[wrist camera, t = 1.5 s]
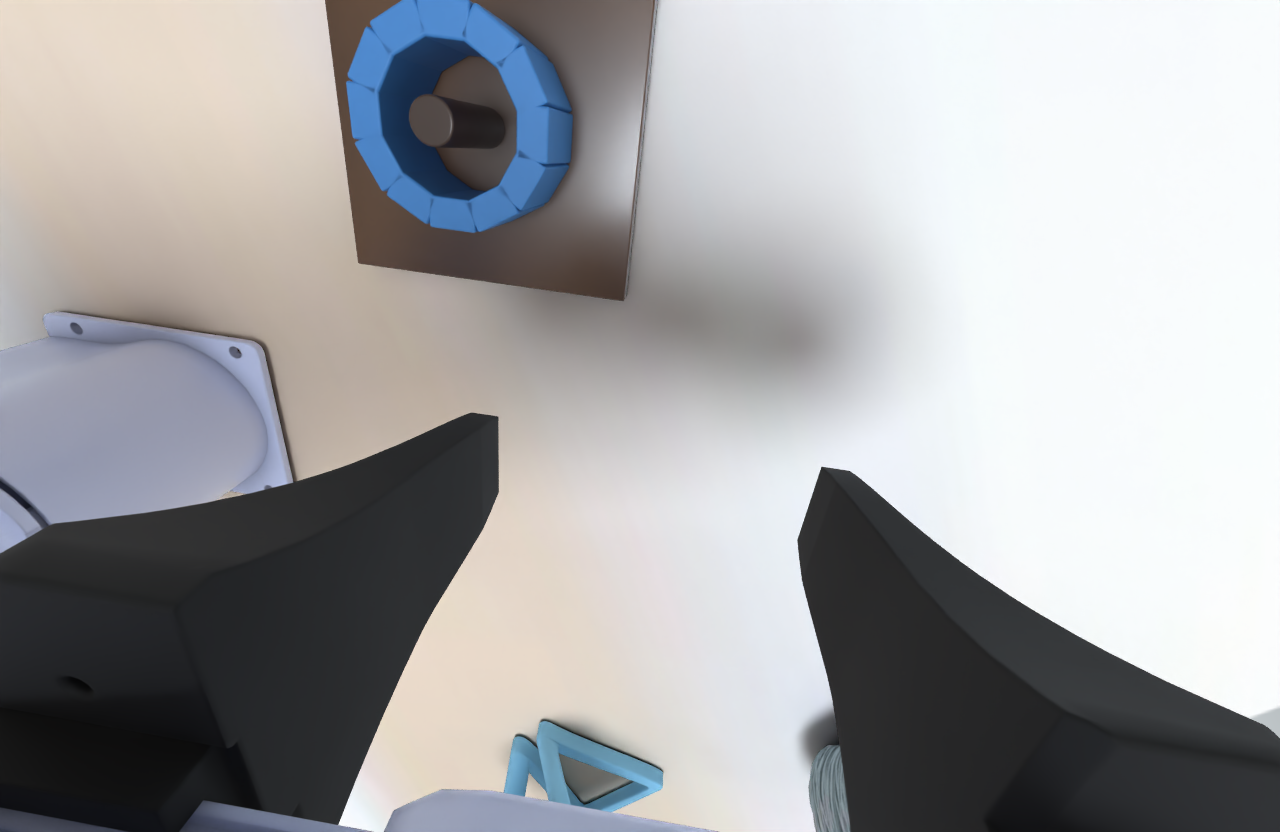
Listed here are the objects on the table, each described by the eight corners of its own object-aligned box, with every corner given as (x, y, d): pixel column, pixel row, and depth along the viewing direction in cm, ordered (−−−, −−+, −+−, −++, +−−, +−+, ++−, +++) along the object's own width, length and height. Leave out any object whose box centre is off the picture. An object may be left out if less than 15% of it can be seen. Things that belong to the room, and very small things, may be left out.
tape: (410, 208, 18) (361, 217, 16) (394, 10, 16) (332, -19, 13) (567, 230, 18) (544, 242, 15) (577, 33, 16) (552, 8, 13)
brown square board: (369, 259, 20) (280, 288, 16) (330, -83, 16) (190, -173, 11) (626, 296, 20) (606, 335, 15) (662, -44, 15) (648, -122, 11)
